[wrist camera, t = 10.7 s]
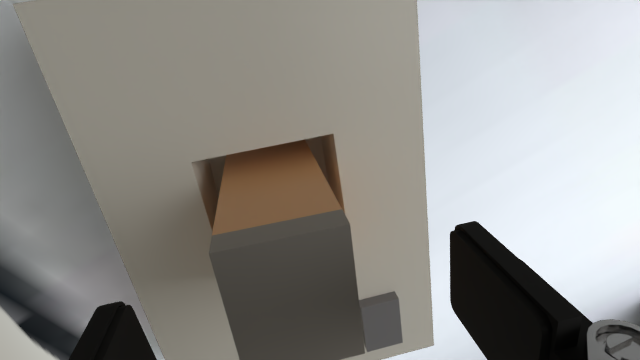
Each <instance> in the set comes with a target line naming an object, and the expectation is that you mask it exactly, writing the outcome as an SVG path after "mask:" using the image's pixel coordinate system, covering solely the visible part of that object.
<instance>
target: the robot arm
mask: <svg viewBox="0 0 640 360" xmlns="http://www.w3.org/2000/svg"><path fill="white" fill-rule="evenodd" d="M450 298H451V305H452V308H453V310H454V312H455V314H456V315H457V317H458V318H459V320H460V321H461V322H462V324H463V325H464V327H465V328H466V330H467V331H468V333H469V334H470V335H471V337H472V338H473V340H474V341H475V343H476V344H477V345H478V347H479V348H480V350H481V351H482V353H483V354H484V355H485V357H486V358H487V360H640V326H638V325H635V324H632V323H629V322H626V321H620V320H613V319H610V320H600V321H597V322H595V323H592V322H591V321H590V320H589V319H587V318H586V317H585V316H584V315H583V314H582V313H581V312H580V311H578V310H577V309H576V308H575V307H574V306H573V305H572V304H571V303H569V302H568V301H567V300H566V299H565V298H564V297H563V296H562V295H560V294H559V293H558V292H557V291H556V290H555V289H554V288H552V287H551V286H550V285H549V284H548V283H547V282H546V281H545V280H543V279H542V278H541V277H540V276H539V275H538V274H537V273H536V272H534V271H533V270H532V269H531V268H530V267H529V266H528V265H526V264H525V263H524V262H523V261H522V260H520V259H518V258H517V257H516V256H515V255H514V254H513V253H512V252H511V251H509V250H508V249H507V248H506V247H505V246H504V245H503V244H502V243H500V242H499V241H498V240H497V239H496V238H495V237H494V236H493V235H491V234H490V233H489V232H488V231H487V230H486V229H485V228H484V227H482V226H481V225H480V224H479V223H478V222H476V221H473V222H468V223H464V224H459V225H457V226H456V227H455V231H452V232H451V233H450ZM69 360H156V358H155V355H154V353H153V351H152V349H151V347H150V345H149V342H148V340H147V338H146V336H145V334H144V332H143V329H142V327H141V325H140V323H139V321H138V319H137V316H136V314H135V312H134V310H133V308H132V306H130V305H125V304H124V303H123V302H115V303H111V304H107V305H102V306H99V307H97V309H96V310H95V312H94V314H93V316H92V318H91V319H90V321H89V323H88V325H87V327H86V329H85V331H84V332H83V334H82V336H81V338H80V340H79V342H78V344H77V345H76V347H75V349H74V351H73V353H72V355H71V356H70V358H69Z"/></svg>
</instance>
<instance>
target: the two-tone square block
mask: <svg viewBox="0 0 640 360" xmlns="http://www.w3.org/2000/svg"><path fill="white" fill-rule="evenodd" d="M209 256H210V260H211V263H212V267H213V270H214V274H215V277H216V281H217V284H218V287H219V291H220V294H221V298H222V301H223V305H224V308H225V311H226V315H227V318H228V322H229V325H230V329H231V332H232V335H233V339H234V342H235V346H236V349H237V353H238V356H239V360H341V359H345V358H349V357H353V356H357V355H361V354H365V349H364V340H363V331H362V323H361V314H360V305H359V297H358V288H357V279H356V271H355V262H354V254H353V245H352V236H351V228H350V223H349V221H348V219H347V217H346V216H345V214H344V212H343V210H342V208H341V206H340V204H339V202H338V201H337V199H336V197H335V195H334V193H333V191H332V189H331V188H330V186H329V184H328V182H327V180H326V178H325V176H324V174H323V173H322V171H321V169H320V167H319V165H318V163H317V161H316V160H315V158H314V156H313V154H312V152H311V150H310V148H309V146H308V145H307V143H306V141H305V139H304V140H299V141H294V142H289V143H284V144H279V145H274V146H269V147H264V148H259V149H254V150H249V151H244V152H239V153H234V154H229V155H226V159H225V165H224V170H223V176H222V182H221V187H220V193H219V198H218V204H217V210H216V215H215V221H214V226H213V232H212V238H211V243H210V249H209Z"/></svg>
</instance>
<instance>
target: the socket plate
mask: <svg viewBox="0 0 640 360" xmlns="http://www.w3.org/2000/svg"><path fill="white" fill-rule="evenodd" d="M13 6H14V8H15V11H16V13H17V15H18V18H19V20H20V22H21V25H22V27H23V29H24V32H25V34H26V36H27V39H28V41H29V43H30V46H31V48H32V50H33V53H34V55H35V57H36V60H37V62H38V64H39V67H40V69H41V71H42V74H43V76H44V78H45V81H46V83H47V85H48V88H49V90H50V92H51V95H52V97H53V99H54V102H55V104H56V106H57V109H58V111H59V113H60V116H61V118H62V120H63V123H64V125H65V127H66V130H67V132H68V134H69V137H70V139H71V141H72V144H73V146H74V148H75V151H76V153H77V155H78V158H79V160H80V162H81V165H82V167H83V169H84V172H85V174H86V176H87V179H88V181H89V183H90V186H91V188H92V190H93V193H94V195H95V197H96V200H97V202H98V204H99V207H100V209H101V211H102V214H103V216H104V218H105V221H106V223H107V225H108V228H109V230H110V232H111V235H112V237H113V239H114V242H115V244H116V246H117V249H118V251H119V253H120V256H121V258H122V260H123V263H124V265H125V267H126V270H127V272H128V274H129V277H130V279H131V281H132V284H133V286H134V288H135V291H136V293H137V295H138V298H139V300H140V302H141V305H142V307H143V309H144V312H145V314H146V316H147V319H148V321H149V323H150V326H151V328H152V330H153V333H154V335H155V337H156V340H157V342H158V344H159V347H160V349H161V351H162V354H163V356H164V358H165V360H239V356H238V353H237V349H236V346H235V342H234V339H233V335H232V332H231V329H230V325H229V322H228V318H227V315H226V311H225V308H224V305H223V301H222V298H221V294H220V291H219V287H218V284H217V281H216V277H215V274H214V270H213V267H212V263H211V260H210V256H209V249H210V243H211V238H212V232H213V226H214V221H215V215H216V210H217V204H218V198H219V193H220V187H221V182H222V176H223V170H224V165H225V159H226V155H229V154H234V153H239V152H244V151H249V150H254V149H259V148H264V147H269V146H274V145H279V144H284V143H289V142H294V141H299V140H304V139H305V141H306V143H307V145H308V146H309V148H310V150H311V152H312V154H313V156H314V158H315V160H316V161H317V163H318V165H319V167H320V169H321V171H322V173H323V174H324V176H325V178H326V180H327V182H328V184H329V186H330V188H331V189H332V191H333V193H334V195H335V197H336V199H337V201H338V202H339V204H340V206H341V208H342V210H343V212H344V214H345V216H346V217H347V219H348V221H349V223H350V228H351V236H352V245H353V254H354V262H355V271H356V279H357V288H358V297H359V305H360V314H361V323H362V331H363V340H364V349H365V354H361V355H357V356H353V357H349V358H345V359H341V360H381V359H385V358H389V357H392V356H396V355H400V354H404V353H407V352H411V351H415V350H418V349H422V348H426V347H429V346H433V345H434V340H433V320H432V300H431V279H430V259H429V239H428V218H427V198H426V177H425V157H424V137H423V116H422V96H421V76H420V55H419V35H418V14H417V0H35V1H28V2H22V3H15V4H13Z"/></svg>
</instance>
